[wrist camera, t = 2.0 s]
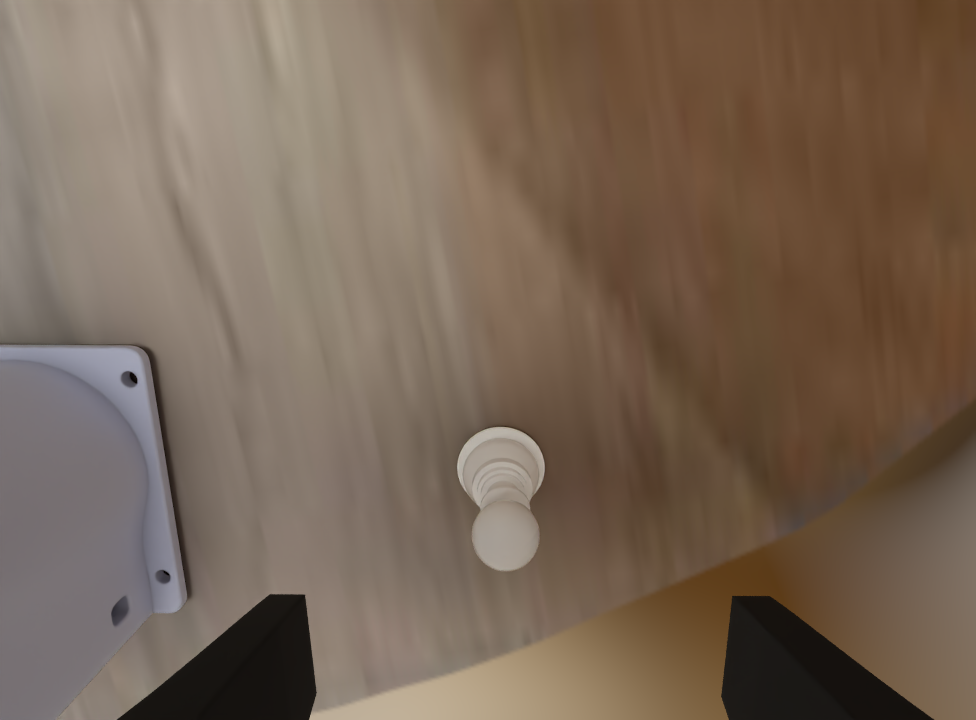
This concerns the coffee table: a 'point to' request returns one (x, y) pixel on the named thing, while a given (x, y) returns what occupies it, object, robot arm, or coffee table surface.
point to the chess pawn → (502, 495)
